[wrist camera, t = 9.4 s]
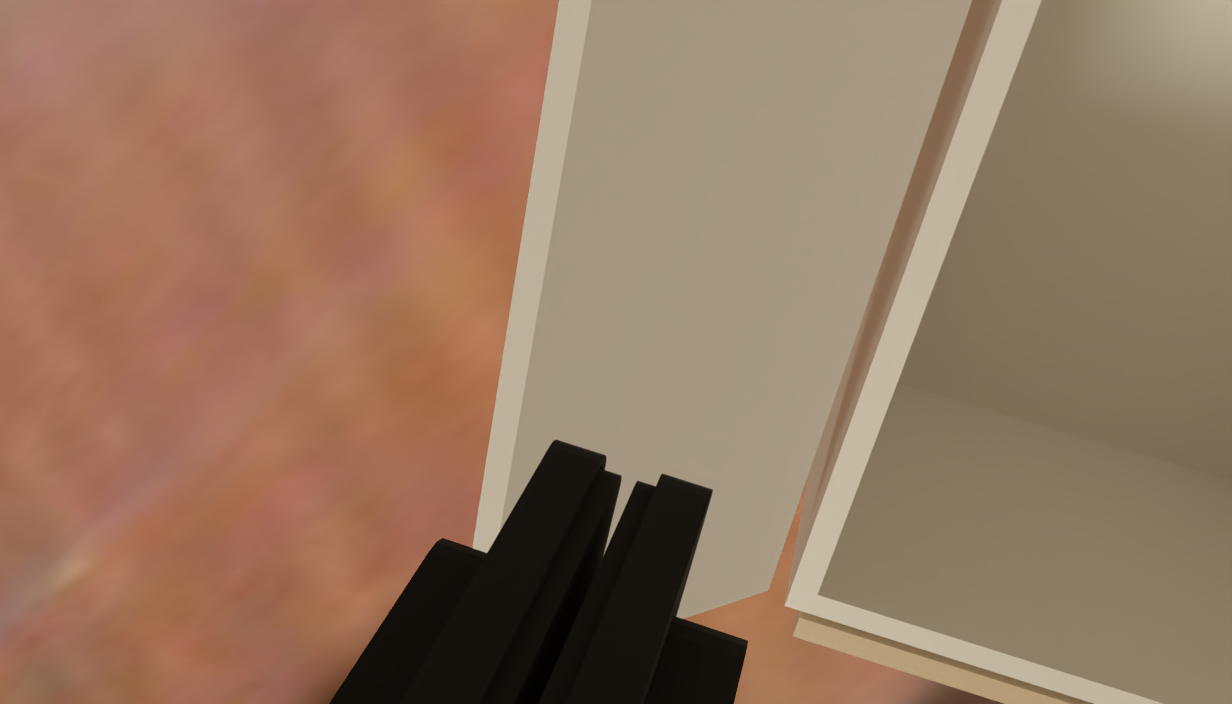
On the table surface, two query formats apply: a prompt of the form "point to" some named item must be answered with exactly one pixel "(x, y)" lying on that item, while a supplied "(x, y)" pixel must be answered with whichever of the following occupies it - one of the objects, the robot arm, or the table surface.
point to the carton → (1045, 375)
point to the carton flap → (708, 249)
